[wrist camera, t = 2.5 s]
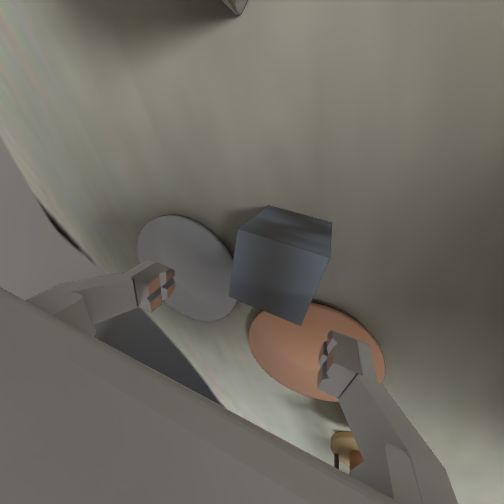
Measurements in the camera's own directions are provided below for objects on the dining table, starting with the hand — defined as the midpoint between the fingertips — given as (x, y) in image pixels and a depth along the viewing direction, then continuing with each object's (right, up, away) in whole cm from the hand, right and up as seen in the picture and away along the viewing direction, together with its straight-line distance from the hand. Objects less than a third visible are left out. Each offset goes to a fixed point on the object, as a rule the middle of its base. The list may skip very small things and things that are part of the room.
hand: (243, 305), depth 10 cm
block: (+4, +4, +7) cm, 8 cm away
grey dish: (-7, +1, +13) cm, 14 cm away
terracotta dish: (+6, -7, +11) cm, 15 cm away
